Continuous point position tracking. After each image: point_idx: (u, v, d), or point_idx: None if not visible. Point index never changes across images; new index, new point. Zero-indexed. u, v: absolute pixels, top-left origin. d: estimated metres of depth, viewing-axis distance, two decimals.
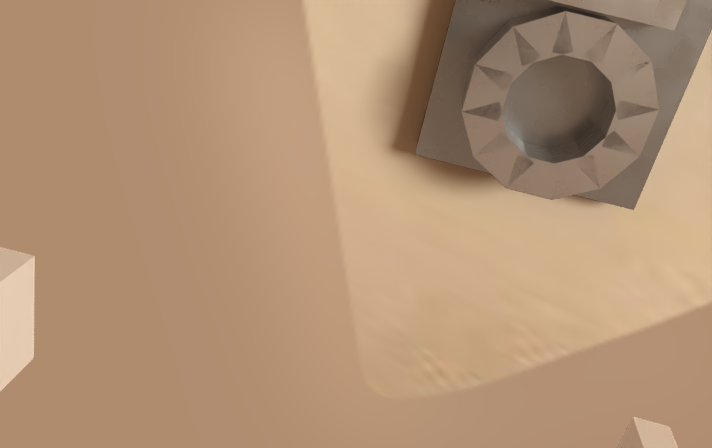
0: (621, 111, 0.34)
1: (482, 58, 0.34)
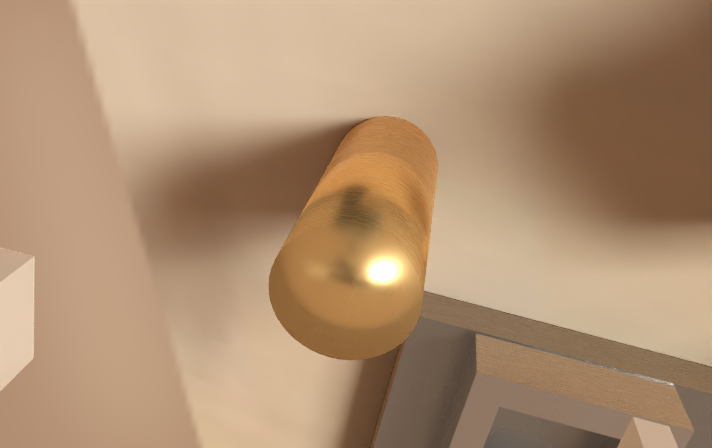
0: None
1: None
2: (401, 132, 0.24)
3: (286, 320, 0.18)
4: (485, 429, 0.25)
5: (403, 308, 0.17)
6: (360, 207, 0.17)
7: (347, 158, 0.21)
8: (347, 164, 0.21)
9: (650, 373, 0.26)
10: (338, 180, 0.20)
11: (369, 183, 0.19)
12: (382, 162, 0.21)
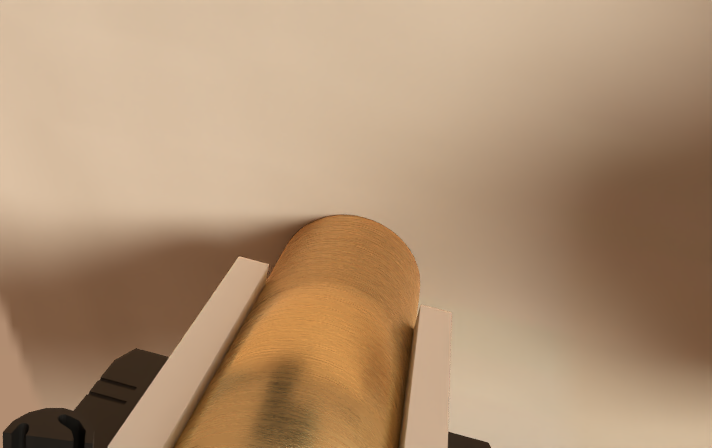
0: None
1: None
2: (364, 246, 0.16)
3: None
4: None
5: None
6: (270, 444, 0.10)
7: (276, 304, 0.14)
8: (272, 321, 0.13)
9: None
10: (251, 361, 0.12)
11: (298, 375, 0.11)
12: (327, 319, 0.13)
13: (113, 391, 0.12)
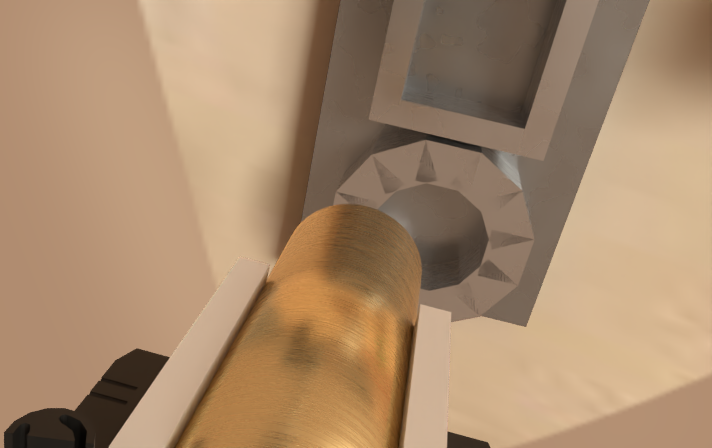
0: (494, 240, 0.31)
1: (342, 185, 0.31)
2: (368, 233, 0.17)
3: None
4: None
5: None
6: (283, 413, 0.11)
7: (284, 287, 0.15)
8: (281, 303, 0.14)
9: None
10: (262, 339, 0.13)
11: (307, 351, 0.12)
12: (333, 300, 0.14)
13: (114, 391, 0.12)
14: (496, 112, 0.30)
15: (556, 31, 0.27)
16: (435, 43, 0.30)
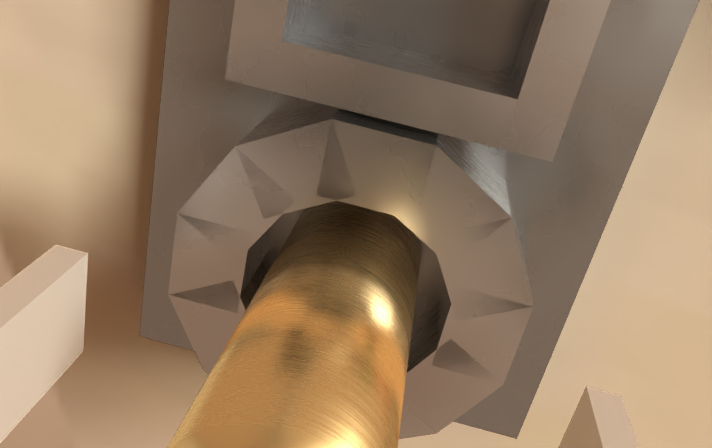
0: (461, 306, 0.17)
1: (188, 202, 0.17)
2: (368, 219, 0.18)
3: None
4: None
5: None
6: (290, 379, 0.11)
7: (289, 269, 0.15)
8: (287, 283, 0.15)
9: None
10: (269, 315, 0.13)
11: (311, 325, 0.13)
12: (336, 280, 0.15)
13: None
14: (466, 72, 0.17)
15: None
16: None
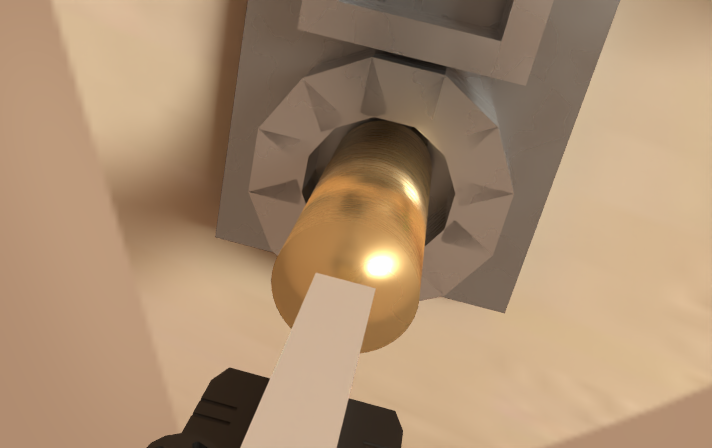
0: (462, 195, 0.24)
1: (266, 120, 0.24)
2: (395, 134, 0.25)
3: (289, 316, 0.18)
4: None
5: (401, 301, 0.18)
6: (358, 205, 0.18)
7: (344, 160, 0.22)
8: (344, 166, 0.21)
9: None
10: (336, 181, 0.20)
11: (366, 183, 0.20)
12: (377, 163, 0.21)
13: (215, 411, 0.12)
14: (465, 25, 0.23)
15: None
16: None
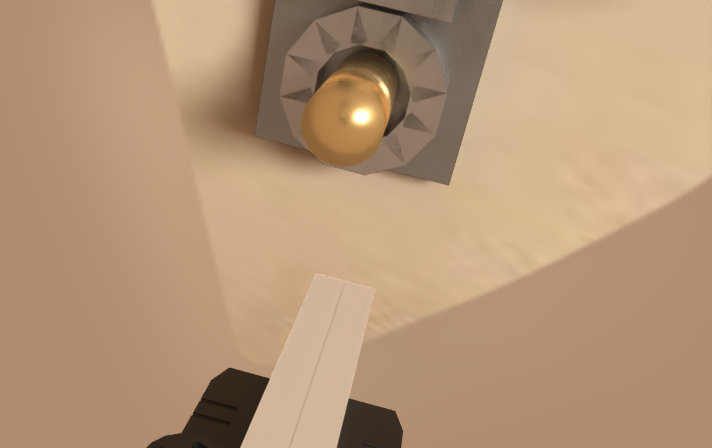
0: (415, 95, 0.38)
1: (291, 48, 0.38)
2: (373, 58, 0.39)
3: (310, 145, 0.33)
4: None
5: (374, 131, 0.32)
6: (348, 80, 0.32)
7: (340, 68, 0.36)
8: (341, 69, 0.36)
9: None
10: (336, 74, 0.34)
11: (353, 73, 0.34)
12: (361, 67, 0.36)
13: (215, 412, 0.12)
14: None
15: None
16: None
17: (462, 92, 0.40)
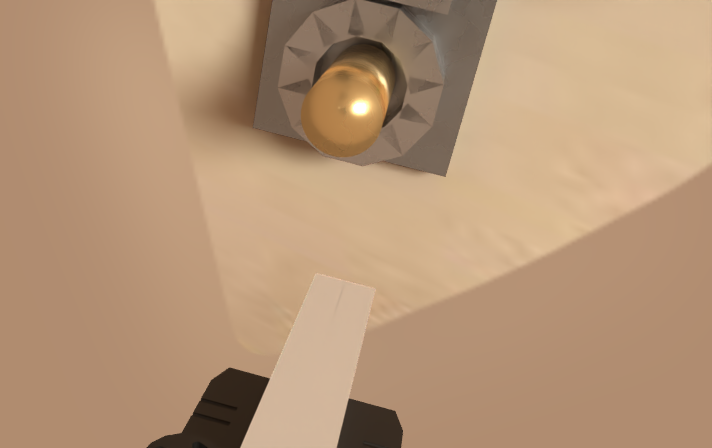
0: (412, 86, 0.39)
1: (290, 40, 0.39)
2: (370, 49, 0.39)
3: (311, 136, 0.33)
4: None
5: (373, 121, 0.32)
6: (347, 71, 0.33)
7: (338, 60, 0.37)
8: (338, 61, 0.36)
9: None
10: (334, 66, 0.35)
11: (351, 65, 0.34)
12: (358, 59, 0.36)
13: (215, 412, 0.12)
14: None
15: None
16: None
17: (458, 84, 0.41)
